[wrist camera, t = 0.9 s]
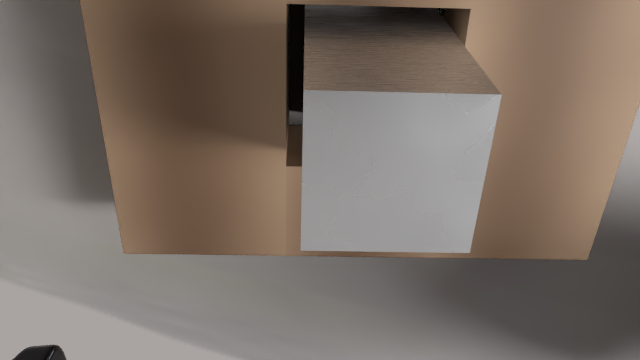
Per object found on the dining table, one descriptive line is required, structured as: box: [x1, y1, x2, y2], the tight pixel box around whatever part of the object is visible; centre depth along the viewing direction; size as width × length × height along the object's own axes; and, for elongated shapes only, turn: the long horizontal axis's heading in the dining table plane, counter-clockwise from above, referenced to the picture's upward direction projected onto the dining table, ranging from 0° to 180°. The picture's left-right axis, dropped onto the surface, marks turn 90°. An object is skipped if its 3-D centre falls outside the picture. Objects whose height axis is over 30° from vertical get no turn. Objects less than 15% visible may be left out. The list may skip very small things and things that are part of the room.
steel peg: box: [301, 4, 502, 253], centre depth 16 cm, size 4×4×8 cm
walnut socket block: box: [80, 0, 640, 260], centre depth 18 cm, size 16×12×3 cm
